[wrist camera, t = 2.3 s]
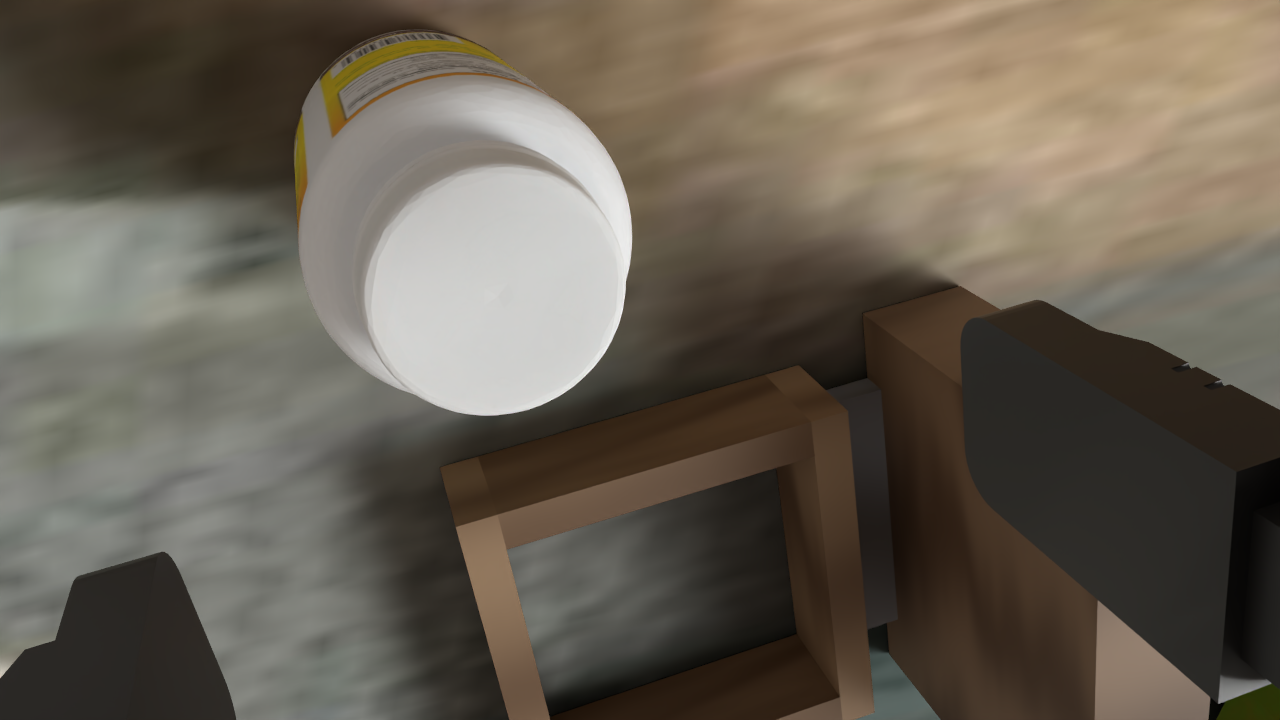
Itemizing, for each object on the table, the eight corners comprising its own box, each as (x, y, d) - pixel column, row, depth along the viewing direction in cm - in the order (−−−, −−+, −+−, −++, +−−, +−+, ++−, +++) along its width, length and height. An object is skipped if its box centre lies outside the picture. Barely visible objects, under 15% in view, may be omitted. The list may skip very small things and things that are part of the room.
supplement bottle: (447, 310, 27) (530, 525, 18) (242, 177, 24) (217, 349, 15) (588, 126, 26) (749, 252, 17) (391, -32, 24) (457, 19, 15)
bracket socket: (430, 433, 28) (497, 686, 19) (960, 286, 31) (1231, 446, 22) (526, 779, 33) (614, 1103, 24) (972, 625, 36) (1196, 864, 27)
